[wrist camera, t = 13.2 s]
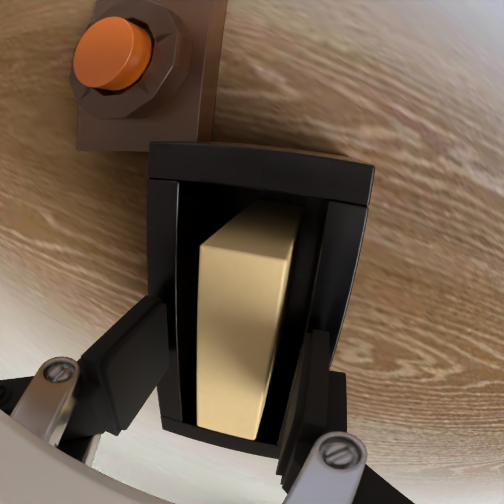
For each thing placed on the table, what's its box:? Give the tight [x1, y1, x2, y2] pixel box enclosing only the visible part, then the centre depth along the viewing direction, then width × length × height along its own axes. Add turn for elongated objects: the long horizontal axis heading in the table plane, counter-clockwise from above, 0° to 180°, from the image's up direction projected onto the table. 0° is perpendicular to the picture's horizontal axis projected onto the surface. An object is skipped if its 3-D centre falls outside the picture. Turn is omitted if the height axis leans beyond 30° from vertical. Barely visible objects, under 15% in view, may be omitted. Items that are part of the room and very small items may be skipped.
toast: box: [197, 199, 304, 440], centre depth 14 cm, size 8×2×8 cm, turn 174°
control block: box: [70, 0, 228, 152], centre depth 14 cm, size 10×8×4 cm
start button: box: [74, 17, 152, 91], centre depth 12 cm, size 4×4×2 cm
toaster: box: [147, 141, 375, 459], centre depth 15 cm, size 13×7×8 cm, turn 174°
